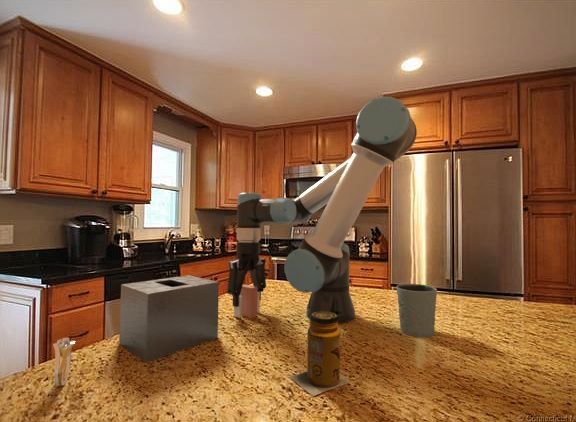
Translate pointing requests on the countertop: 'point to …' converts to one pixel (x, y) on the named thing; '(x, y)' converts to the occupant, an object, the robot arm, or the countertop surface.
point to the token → (249, 300)
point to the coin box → (168, 315)
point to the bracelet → (62, 370)
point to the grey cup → (417, 309)
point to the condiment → (322, 355)
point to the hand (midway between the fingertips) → (247, 314)
